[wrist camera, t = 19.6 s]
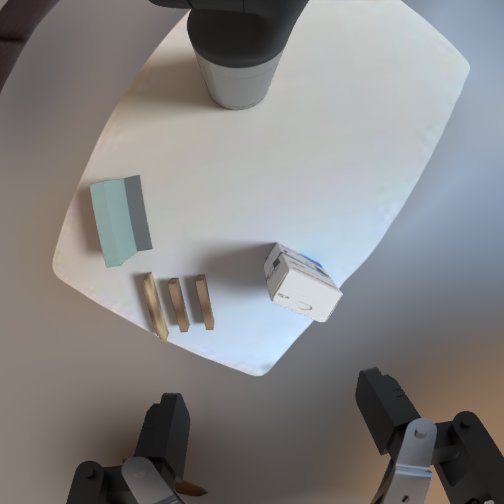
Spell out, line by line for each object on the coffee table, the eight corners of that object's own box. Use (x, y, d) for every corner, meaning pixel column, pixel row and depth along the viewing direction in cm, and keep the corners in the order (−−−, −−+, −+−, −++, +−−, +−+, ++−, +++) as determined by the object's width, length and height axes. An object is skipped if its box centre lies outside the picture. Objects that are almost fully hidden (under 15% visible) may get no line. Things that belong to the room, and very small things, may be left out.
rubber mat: (97, 185, 39) (96, 185, 38) (139, 175, 39) (138, 175, 38) (111, 254, 42) (110, 255, 42) (152, 248, 42) (151, 249, 42)
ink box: (320, 263, 44) (346, 293, 33) (305, 289, 46) (325, 324, 34) (275, 241, 43) (289, 266, 32) (261, 268, 44) (269, 301, 33)
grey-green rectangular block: (89, 185, 32) (106, 267, 35) (104, 181, 32) (120, 265, 35) (110, 182, 38) (124, 253, 42) (123, 179, 38) (137, 251, 42)
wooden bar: (144, 272, 43) (138, 280, 40) (152, 271, 43) (146, 279, 40) (161, 332, 47) (157, 343, 44) (168, 332, 47) (165, 342, 44)
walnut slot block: (171, 278, 44) (168, 284, 41) (204, 274, 44) (202, 280, 41) (183, 324, 46) (180, 332, 44) (214, 322, 46) (213, 329, 44)
